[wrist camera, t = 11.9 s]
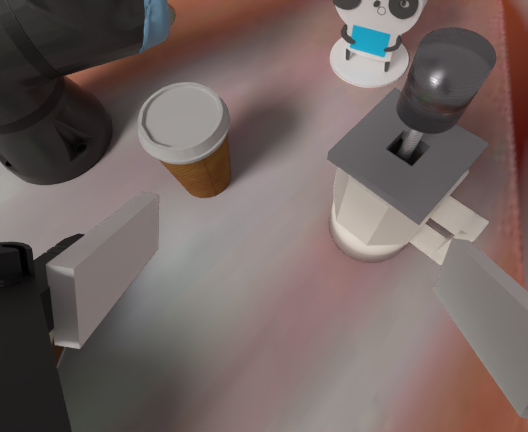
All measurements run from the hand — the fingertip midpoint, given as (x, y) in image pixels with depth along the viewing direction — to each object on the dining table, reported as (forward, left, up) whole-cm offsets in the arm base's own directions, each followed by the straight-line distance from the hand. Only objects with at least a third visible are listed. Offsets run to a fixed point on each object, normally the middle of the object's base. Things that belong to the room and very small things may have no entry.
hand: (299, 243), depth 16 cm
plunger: (-9, +11, -17) cm, 22 cm away
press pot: (-7, +12, -24) cm, 27 cm away
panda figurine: (-35, +19, -24) cm, 46 cm away
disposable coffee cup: (-20, -7, -24) cm, 32 cm away
